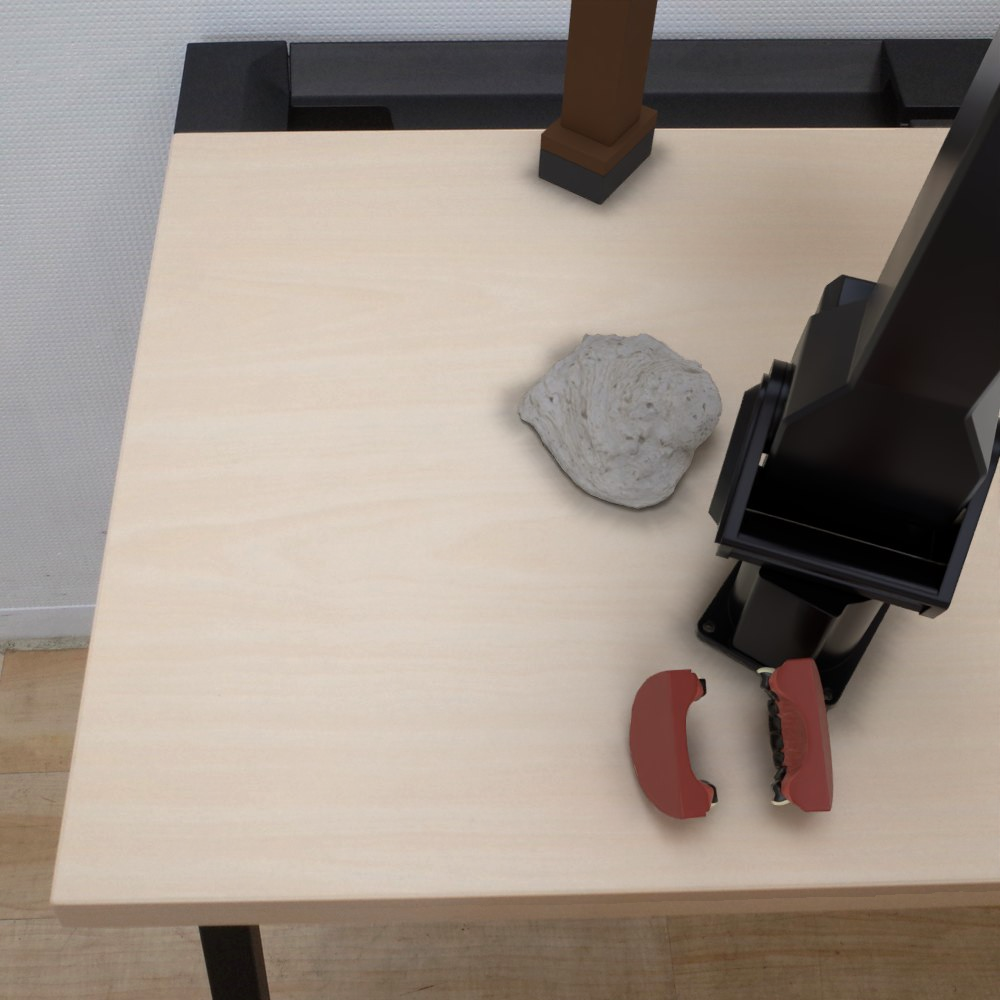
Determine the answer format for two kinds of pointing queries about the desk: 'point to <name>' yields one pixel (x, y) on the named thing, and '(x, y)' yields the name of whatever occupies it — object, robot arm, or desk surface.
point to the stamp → (602, 99)
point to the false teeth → (796, 748)
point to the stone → (624, 416)
